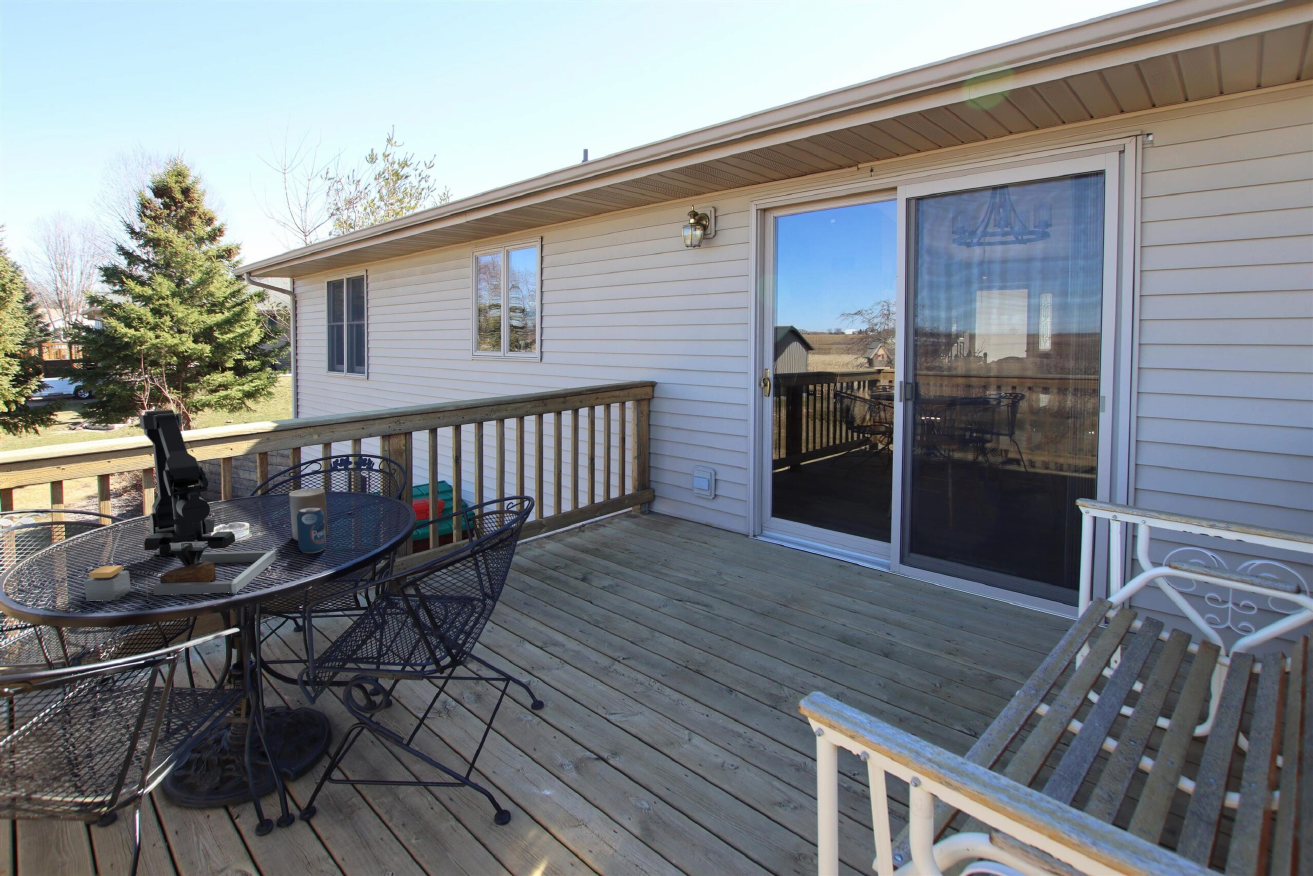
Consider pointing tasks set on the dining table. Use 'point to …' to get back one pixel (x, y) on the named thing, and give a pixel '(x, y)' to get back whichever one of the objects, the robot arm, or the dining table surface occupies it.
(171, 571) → the brown wedge block
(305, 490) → the pillar candle
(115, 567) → the button
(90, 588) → the box
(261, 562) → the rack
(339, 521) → the dining table surface
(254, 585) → the dining table surface
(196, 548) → the robot arm
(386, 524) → the dining table surface
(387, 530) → the dining table surface
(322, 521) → the soda can
